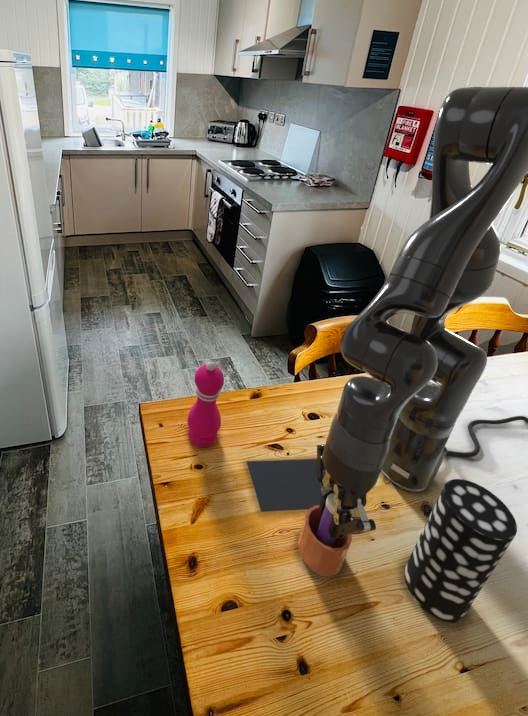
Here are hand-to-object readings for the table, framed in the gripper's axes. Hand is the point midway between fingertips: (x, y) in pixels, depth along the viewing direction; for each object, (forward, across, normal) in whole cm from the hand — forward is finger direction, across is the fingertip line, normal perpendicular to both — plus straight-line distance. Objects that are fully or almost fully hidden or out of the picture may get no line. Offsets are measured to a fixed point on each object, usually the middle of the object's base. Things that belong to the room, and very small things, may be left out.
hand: (330, 522), depth 63 cm
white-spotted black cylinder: (+8, -6, -16) cm, 19 cm away
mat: (+8, +12, 0) cm, 15 cm away
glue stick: (+7, 0, 0) cm, 7 cm away
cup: (+8, 0, 0) cm, 8 cm away
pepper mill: (+8, +24, +16) cm, 30 cm away
